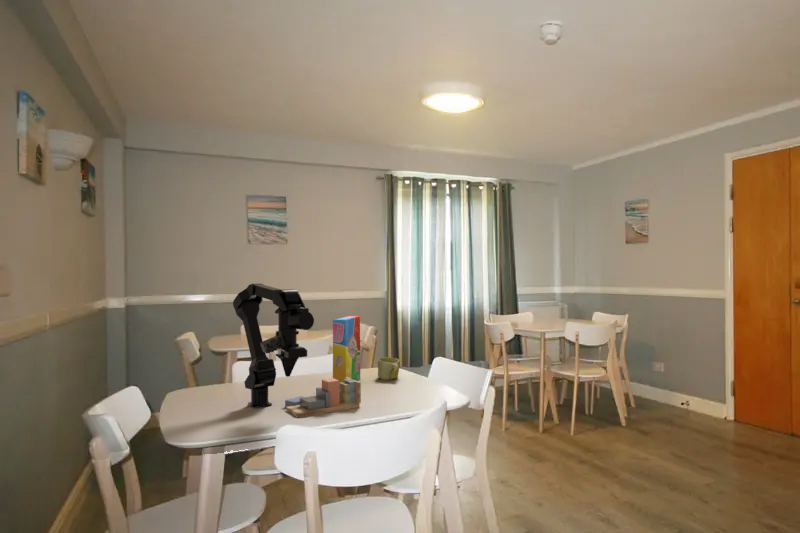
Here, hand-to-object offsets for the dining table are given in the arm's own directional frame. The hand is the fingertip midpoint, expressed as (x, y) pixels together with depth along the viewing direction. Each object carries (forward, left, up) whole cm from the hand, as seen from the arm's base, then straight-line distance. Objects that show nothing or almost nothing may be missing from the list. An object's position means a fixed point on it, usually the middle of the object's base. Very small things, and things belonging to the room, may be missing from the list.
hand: (287, 376), depth 163 cm
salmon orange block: (+1, +15, -11) cm, 18 cm away
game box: (-28, +36, -12) cm, 47 cm away
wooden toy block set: (+1, +13, -12) cm, 17 cm away
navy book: (-8, +7, -12) cm, 16 cm away
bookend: (+1, +9, -11) cm, 14 cm away
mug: (-27, +56, -12) cm, 63 cm away
